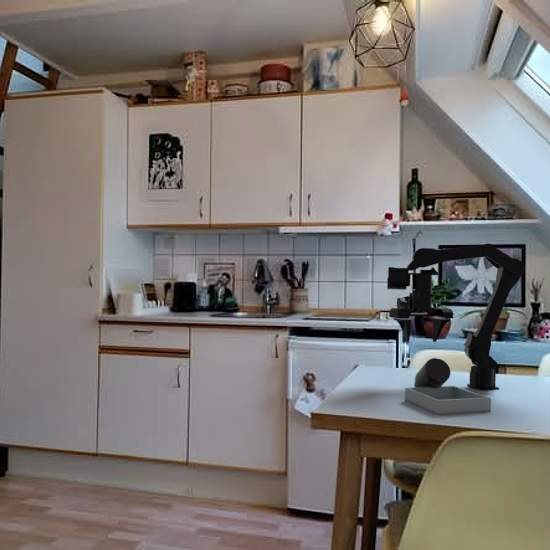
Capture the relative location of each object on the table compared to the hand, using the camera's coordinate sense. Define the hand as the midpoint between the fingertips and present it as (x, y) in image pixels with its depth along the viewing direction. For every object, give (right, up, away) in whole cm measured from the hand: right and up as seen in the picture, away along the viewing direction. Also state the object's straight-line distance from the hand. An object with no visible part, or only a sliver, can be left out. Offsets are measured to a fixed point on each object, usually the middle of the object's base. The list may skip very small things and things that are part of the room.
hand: (420, 342), depth 156 cm
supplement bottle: (-2, -4, -22) cm, 22 cm away
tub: (-1, -13, -26) cm, 29 cm away
